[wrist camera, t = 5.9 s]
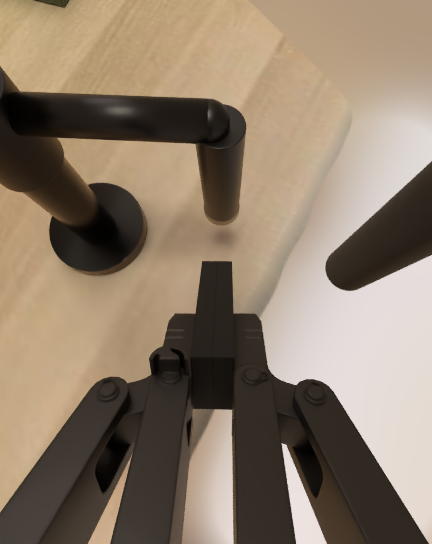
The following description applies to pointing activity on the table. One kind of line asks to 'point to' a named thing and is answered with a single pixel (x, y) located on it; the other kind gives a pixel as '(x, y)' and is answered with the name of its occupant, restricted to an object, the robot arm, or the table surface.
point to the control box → (56, 2)
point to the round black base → (91, 222)
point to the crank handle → (120, 136)
